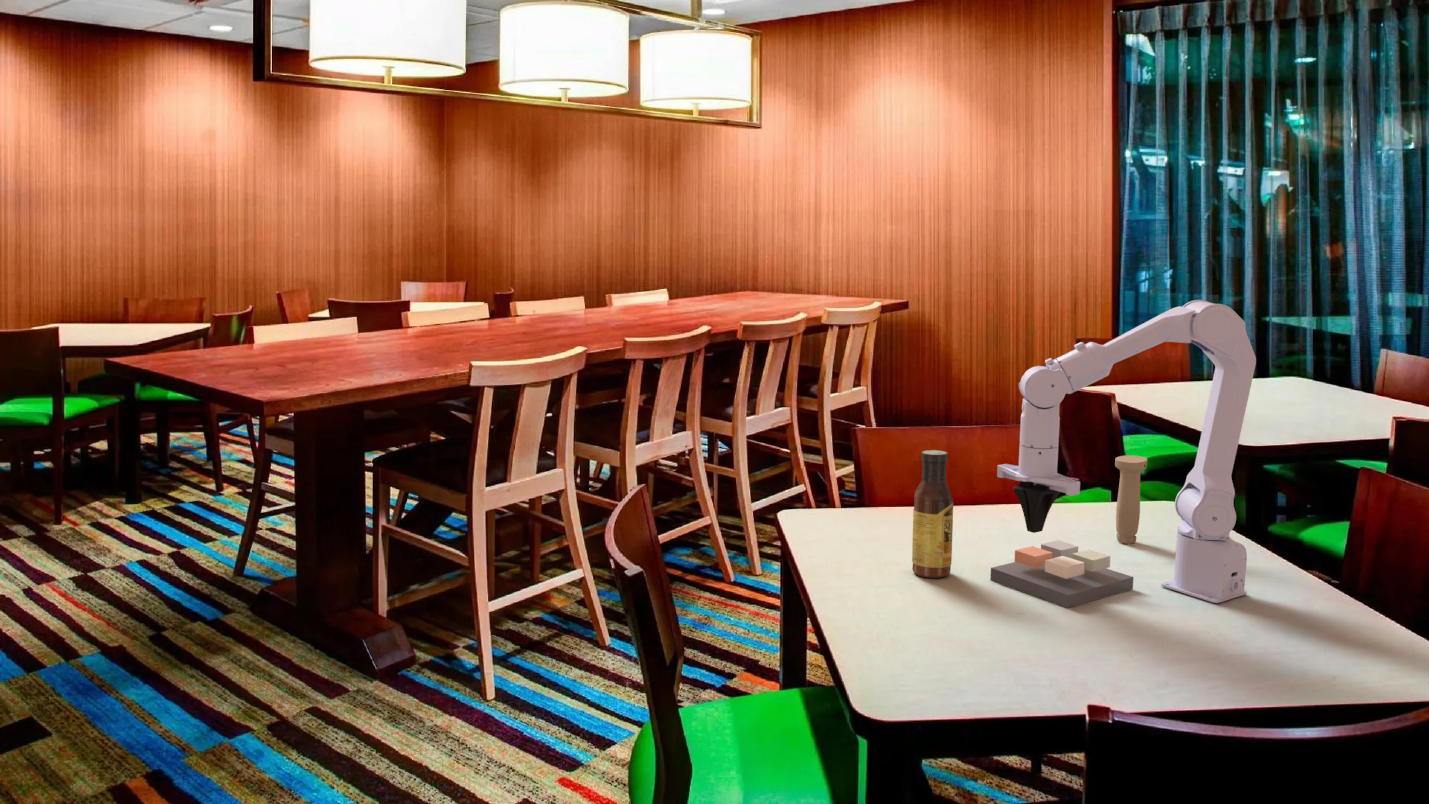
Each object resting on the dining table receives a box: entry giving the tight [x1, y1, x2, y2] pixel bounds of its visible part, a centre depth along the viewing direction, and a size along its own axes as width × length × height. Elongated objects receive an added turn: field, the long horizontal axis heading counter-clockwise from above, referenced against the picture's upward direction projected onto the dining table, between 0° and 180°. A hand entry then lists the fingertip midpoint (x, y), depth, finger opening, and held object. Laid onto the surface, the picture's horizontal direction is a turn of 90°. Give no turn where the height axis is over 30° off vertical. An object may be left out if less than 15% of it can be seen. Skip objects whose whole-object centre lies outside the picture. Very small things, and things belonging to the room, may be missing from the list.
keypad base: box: [989, 561, 1134, 609], centre depth 167 cm, size 15×15×2 cm
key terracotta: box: [1014, 545, 1053, 568], centre depth 167 cm, size 4×4×2 cm
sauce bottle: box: [911, 449, 954, 579], centre depth 171 cm, size 7×6×20 cm
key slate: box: [1040, 539, 1079, 558], centre depth 170 cm, size 4×4×2 cm
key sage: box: [1072, 549, 1111, 572], centre depth 165 cm, size 4×4×2 cm
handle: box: [1114, 454, 1148, 545], centre depth 188 cm, size 5×6×15 cm
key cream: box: [1045, 556, 1085, 579], centre depth 162 cm, size 4×4×2 cm
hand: (1034, 531), depth 167 cm, fingers closed
